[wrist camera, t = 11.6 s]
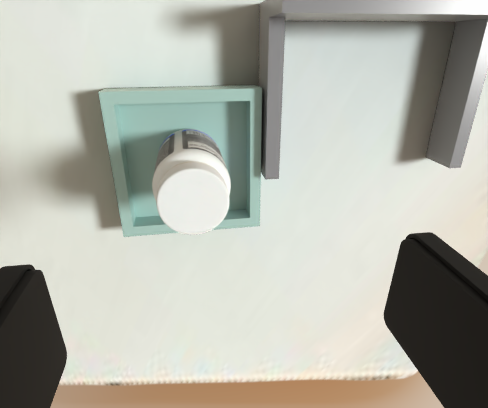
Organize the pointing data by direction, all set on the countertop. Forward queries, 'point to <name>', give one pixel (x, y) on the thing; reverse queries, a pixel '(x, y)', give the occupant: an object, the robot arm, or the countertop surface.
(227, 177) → the pill bottle
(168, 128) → the tray
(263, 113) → the bay
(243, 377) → the countertop surface
